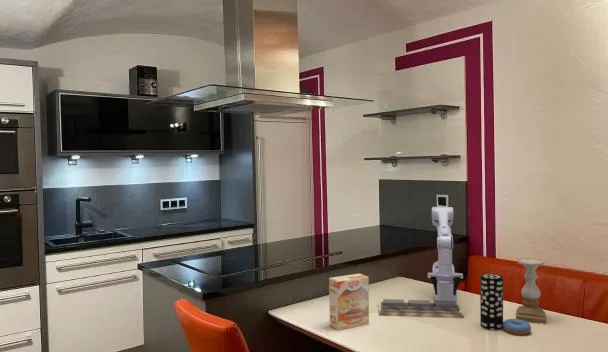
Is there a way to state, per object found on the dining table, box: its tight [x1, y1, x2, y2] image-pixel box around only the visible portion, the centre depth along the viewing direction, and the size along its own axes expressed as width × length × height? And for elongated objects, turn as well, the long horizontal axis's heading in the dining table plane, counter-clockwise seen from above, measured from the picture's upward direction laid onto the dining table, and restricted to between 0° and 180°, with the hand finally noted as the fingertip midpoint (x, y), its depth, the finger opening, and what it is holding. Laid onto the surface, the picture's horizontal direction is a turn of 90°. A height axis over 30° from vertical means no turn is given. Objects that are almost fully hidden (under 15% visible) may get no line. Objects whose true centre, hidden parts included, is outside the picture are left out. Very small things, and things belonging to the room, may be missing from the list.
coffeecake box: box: [328, 273, 370, 331], centre depth 194 cm, size 15×7×20 cm, turn 117°
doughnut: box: [502, 318, 532, 336], centre depth 184 cm, size 10×10×5 cm
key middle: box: [408, 299, 431, 307], centre depth 209 cm, size 9×5×2 cm, turn 82°
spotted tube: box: [479, 273, 504, 331], centre depth 189 cm, size 8×8×20 cm
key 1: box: [382, 298, 405, 306], centre depth 211 cm, size 9×5×2 cm, turn 82°
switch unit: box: [378, 301, 465, 319], centre depth 210 cm, size 35×15×3 cm, turn 82°
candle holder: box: [515, 257, 547, 325], centre depth 198 cm, size 11×11×24 cm
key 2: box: [433, 299, 458, 308], centre depth 208 cm, size 9×5×2 cm, turn 82°
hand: (445, 294), depth 208 cm, fingers open, 7 cm apart
